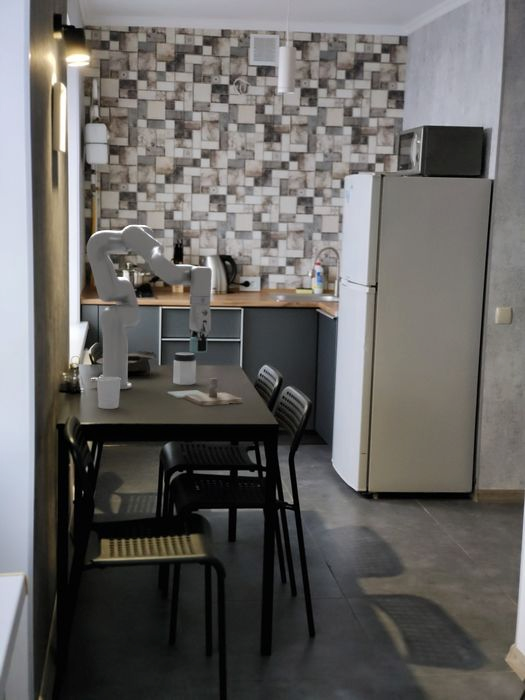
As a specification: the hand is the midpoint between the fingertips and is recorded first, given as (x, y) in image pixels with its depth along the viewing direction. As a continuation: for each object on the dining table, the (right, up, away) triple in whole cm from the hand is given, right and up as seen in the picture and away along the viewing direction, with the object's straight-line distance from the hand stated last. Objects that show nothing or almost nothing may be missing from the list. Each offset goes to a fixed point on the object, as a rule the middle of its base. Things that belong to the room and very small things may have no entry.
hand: (198, 349), depth 338 cm
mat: (-4, -17, +7) cm, 19 cm away
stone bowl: (-34, -11, +51) cm, 63 cm away
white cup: (-29, -20, -21) cm, 41 cm away
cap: (0, -1, 0) cm, 1 cm away
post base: (+6, -19, -4) cm, 20 cm away
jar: (-8, -14, +32) cm, 35 cm away
